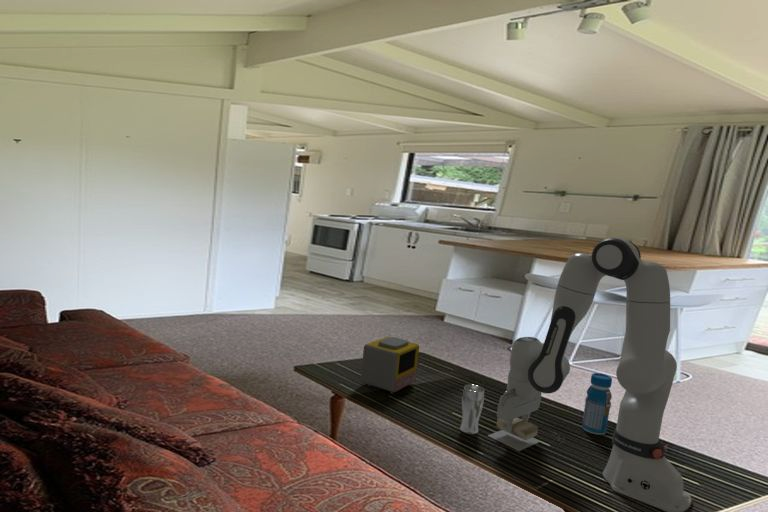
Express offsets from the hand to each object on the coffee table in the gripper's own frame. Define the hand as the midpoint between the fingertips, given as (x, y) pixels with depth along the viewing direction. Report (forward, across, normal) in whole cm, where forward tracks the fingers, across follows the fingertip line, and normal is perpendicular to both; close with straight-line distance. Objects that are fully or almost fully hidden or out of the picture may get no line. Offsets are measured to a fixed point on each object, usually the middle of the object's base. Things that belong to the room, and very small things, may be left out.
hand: (516, 427), depth 166 cm
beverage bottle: (+5, +34, -11) cm, 36 cm away
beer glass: (+4, -8, +13) cm, 16 cm away
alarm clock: (+3, -3, +57) cm, 57 cm away
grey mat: (+5, 0, +1) cm, 5 cm away
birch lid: (+1, 0, 0) cm, 1 cm away
